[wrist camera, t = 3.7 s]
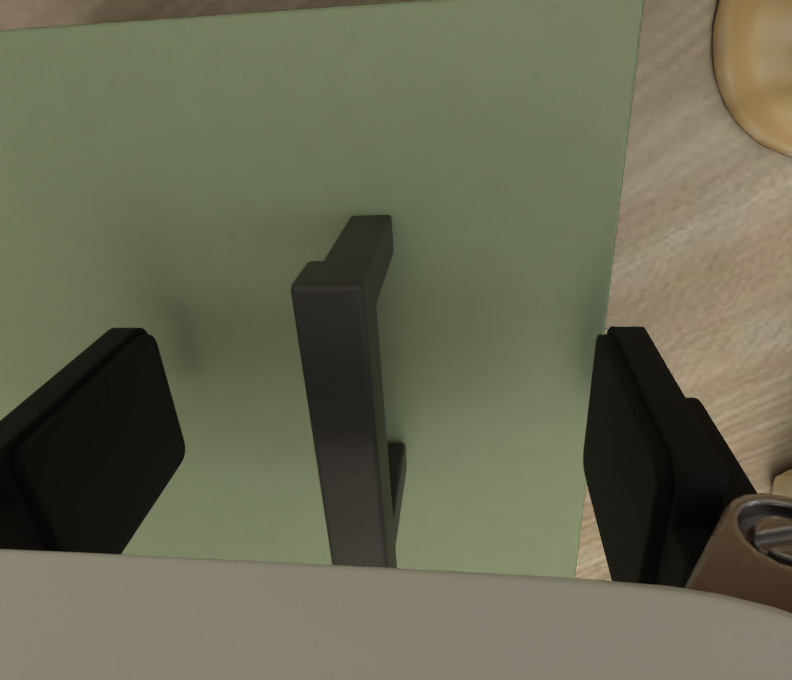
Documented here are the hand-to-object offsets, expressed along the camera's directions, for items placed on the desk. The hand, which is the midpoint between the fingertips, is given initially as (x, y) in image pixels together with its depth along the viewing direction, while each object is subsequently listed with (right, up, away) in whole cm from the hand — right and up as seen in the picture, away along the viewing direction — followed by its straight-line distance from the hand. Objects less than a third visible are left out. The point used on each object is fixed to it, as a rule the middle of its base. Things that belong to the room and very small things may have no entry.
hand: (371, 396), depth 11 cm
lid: (-3, +1, +2) cm, 4 cm away
